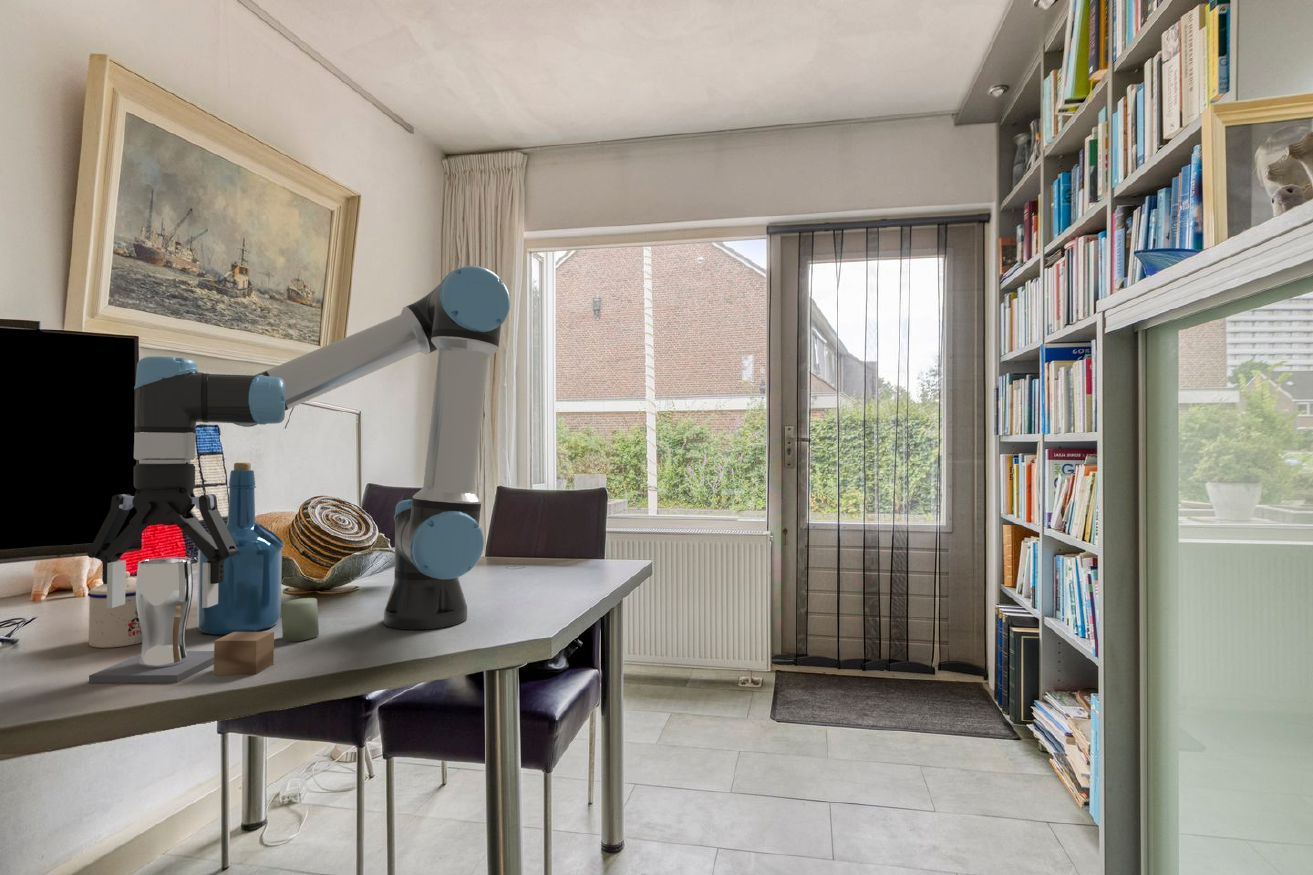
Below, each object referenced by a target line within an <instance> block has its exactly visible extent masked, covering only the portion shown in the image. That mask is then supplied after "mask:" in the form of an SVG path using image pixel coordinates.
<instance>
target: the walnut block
mask: <svg viewBox="0 0 1313 875" xmlns="http://www.w3.org/2000/svg"><path fill="white" fill-rule="evenodd" d="M213 643H214V646H213V647H214V648H213V649H214V650H213V651H214V664H213V675H214V676H219V674H220V675H222V676H223V675H224V676H226V675H227V676H228V675H229V676H231V675H232V676H238V675H239V676H240V675H241V676H245V675H247V676H250V675H251V676H256V675H258V674H260V673H261V672H264V671H265V670H266V669H268V668H270V667H272V666H273V665H274V662H275V661H274V660H275V659H274V658H275V657H274V656H275V654H274V652H275V651H274V650H275V631H256V632H233V633H230V634H228V635H223V636H222V637H220V638H218V639H215V640H214V641H213ZM215 674H216V675H215Z"/></svg>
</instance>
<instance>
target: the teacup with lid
mask: <svg viewBox="0 0 1313 875" xmlns="http://www.w3.org/2000/svg"><path fill="white" fill-rule="evenodd" d="M136 578H137V577H133V576H131V573H130V572H129V571H127V570H126V585H125V604H124V605H120V606H117V607H114V608H107V584H103V583H102V584H100V585H97V586H95V587H92V588H91V589H89V590H88V593H87V596H88V597H89V603H88V604H89V608H88V610H89V612H88V613H89V614H88V619H89V620H88V622H89V623H88V645H89V646H90V647H92V648H97V649H98V648H99V649H108V648H109V649H110V648H111V649H112V648H120V647H128V646H133V645H137V644H142V634H141V628H140V623H139V618H138V612H137V606H136Z"/></svg>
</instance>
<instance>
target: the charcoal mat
mask: <svg viewBox="0 0 1313 875" xmlns="http://www.w3.org/2000/svg"><path fill="white" fill-rule="evenodd" d="M187 655H188V660H187V661H185V662H183V663H181V664H178V665H174V666H169V667H163V668H141V667H139V666H138V661H139V656H140V654H138V655H135V656H133V657H130V658H128V659H125V660H123V661H121V662H119V663H115V664H114V665H111V666H109V667H106V668H104V669H102V670H99V671H97V672H94V673H92V674H90V675H88V683H89V684H92V683H94V684H98V683H99V684H101V683H103V684H105V683H107V684H109V683H111V684H114V683H115V684H117V683H118V684H119V683H120V684H123V683H125V684H126V683H127V684H129V683H130V684H133V683H142V684H144V683H145V684H147V683H148V684H149V683H160V684H161V683H179V682H181V681H183V680H186V679H187V678H189V677H191V676H192V675H195V674H197V673H199V672H200V671H202V670H204V669H207V668H208V667H210V666H212V665H214V650H187Z"/></svg>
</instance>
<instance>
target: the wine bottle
mask: <svg viewBox="0 0 1313 875" xmlns="http://www.w3.org/2000/svg"><path fill="white" fill-rule="evenodd" d="M251 466H252V464H251V463H250V462H235V463H233V470H230V474H229V480H228V486H227V488H228V489H229V490H228V492H229V493H228V507H227V509H228V510H227V523H226V524H225V525H226V527H227V529H228V531H229V533H230V535H231V537H232V539H233V541H234V543H235V545H236V547H237V549H238V554H237V555H235V556H232V557H229V558H227V559H225V561H224V579H223V582H221V583H218V604H216V605H213V606H211V607H208V608H202V575H203V563H205V562H207V561H208V559H207V558H206V557H205V555H204V554H203V553H202V552H201V551H200V550H199V549H198V553H197V554H198V555H197V602H196V603H197V604H196V605H197V606H196V607H197V608H196V610H197V611H196V615H197V616H196V625H197V627H198V629H199V630H200V632H201V633H202V634H203V633H204V634H208V635H209V634H210V635H217V636H226V635H228V634H230V633H233V632H261V631H263V630H266V629H269V628H272V627H273V626H275V625H276V624H278V623H279V622H280V620H281V619H282V616H281V604H282V568H283V567H282V565H283V562H282V561H283V550H282V549H283V548H284V547H285V543H284V542H283V540H282V539H281V538H280V537H279V536H278V535H277V534H276V533H274V532H273V531H271V530H270V529H268V528H267V527H265V526H264V525H263V524H261V523H259V522H256V504H255V503H256V502H255V500H256V499H255V497H256V496H255V489H257V486H256V478H255V471H254V469H252V467H251ZM209 535H210V536H211V534H209ZM211 537H212V536H211Z"/></svg>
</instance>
